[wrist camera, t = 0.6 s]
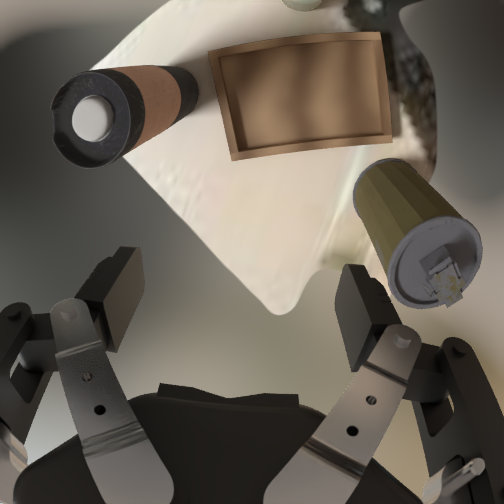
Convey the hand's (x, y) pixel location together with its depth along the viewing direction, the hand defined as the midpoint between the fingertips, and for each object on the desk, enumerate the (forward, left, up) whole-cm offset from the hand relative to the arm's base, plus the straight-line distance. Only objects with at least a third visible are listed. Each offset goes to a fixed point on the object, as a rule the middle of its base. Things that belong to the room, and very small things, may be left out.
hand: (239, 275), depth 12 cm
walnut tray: (-5, -4, -30) cm, 31 cm away
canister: (-15, +11, -30) cm, 35 cm away
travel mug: (+11, -7, -30) cm, 33 cm away
